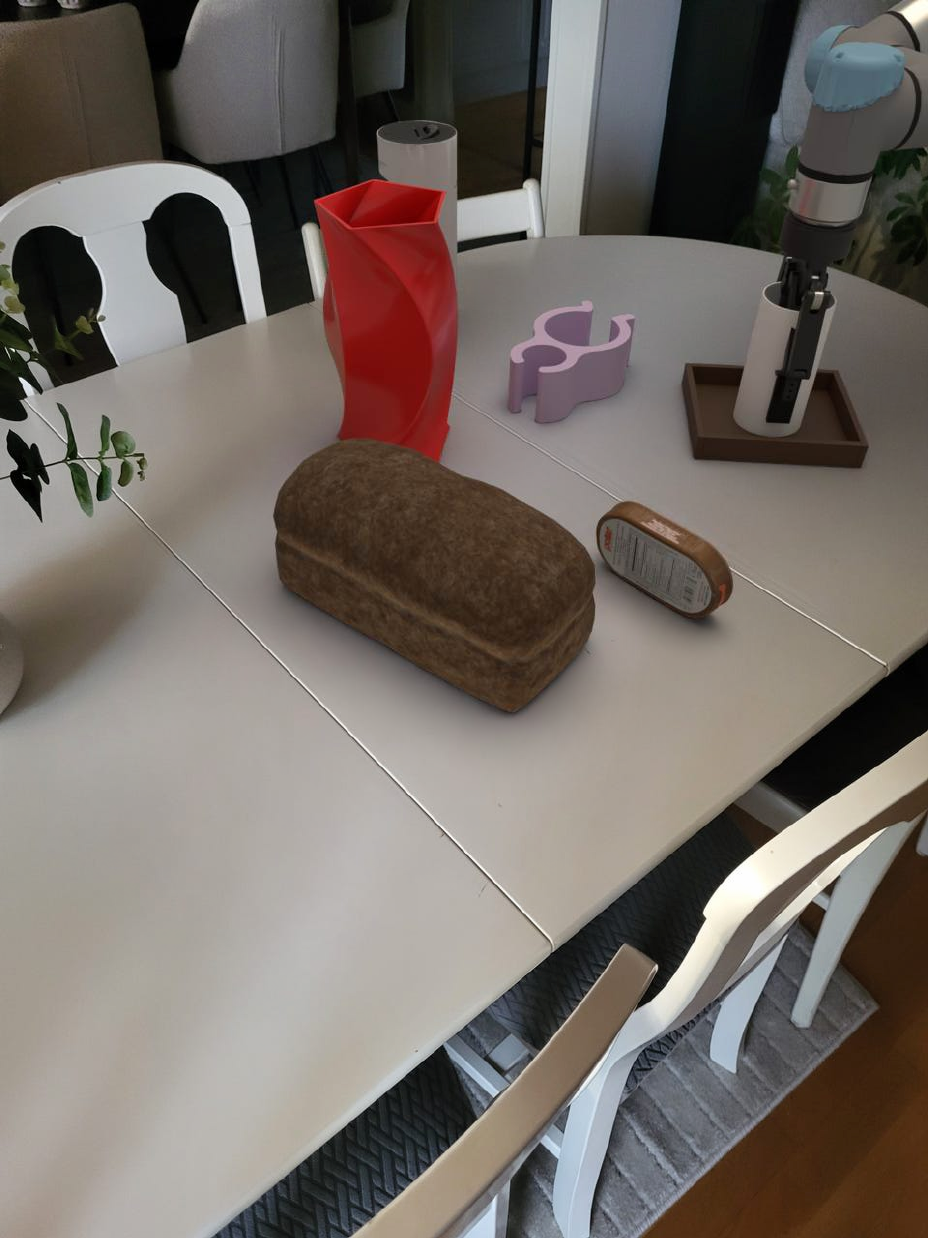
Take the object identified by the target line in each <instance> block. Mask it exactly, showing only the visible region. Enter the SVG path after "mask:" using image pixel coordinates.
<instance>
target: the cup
mask: <svg viewBox="0 0 928 1238" xmlns="http://www.w3.org/2000/svg"><path fill="white" fill-rule="evenodd" d="M780 284H781V282H777V281H776V282H773V283H770V284H768V285H766V286H765V287H764V288H763V289H762V292H761V295H760V300H759V304H758V307H757V313H756V317H755V319H754V325H753V330H752V334H751V338H750V341H749V346H748V350H747V355H746V358H745V363H744V366H745V367H744V371H743V375H742V379H741V383H740V388H739V392H738V396H737V400H736V404H735V409H734V413H733V417H734V420H735V422H736V423H737V424H738V425H739V426H740V427H742V428H743V429H745V430H746V431H748V432H751V433H754V434H757V435H760V436H766V437H784V436H788V435H791V434H793V433H795V432H796V431H798V429H799V428H800V425H801V422H802V419H803V415H804V412H805V409H806V405H807V402H808V399H809V395H810V392H811V388H812V385H813V382H814V378H815V375H816V372H817V369H818V368H819V364H820V362H821V358H822V355H823V351H824V348H825V345H826V342H827V339H828V334H829V331H830V328H831V325H832V321H833V317H834V314H835V311H836V309H837V308H836V307H837V303H838V302H837V301H838V300H837V298H836V295H835V294H834V293H832V292H831V299H830V301H829V304H828V307H827V310H826V312H825V316H824V320H823V325H822V329H821V333H820V337H819V342H818V346H817V350H816V355H815V359H814V363H813V367H812V372H811V377H810V379H809V380H802V382H801V385H800V389H799V392H798V396H797V399H796V403H795V406H794V410H793V413H792V417H791V420H790V423H789V424H782V423H766V416H767V412H768V408H769V404H770V401H771V397H772V393H773V389H774V386H775V382H776V378H777V376H776V375H775V370H782V367H783V360H784V354H785V349H786V345H787V341H788V337H789V334H790V330H791V327H793V328H794V329H796V325H797V320H798V316H799V311H793V310H789V309H785V308H782V307H780V306H778V304H779V300H780V296H781V288H780ZM824 291H829V290H828V289H826V288H825V290H824Z"/></svg>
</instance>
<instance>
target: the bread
mask: <svg viewBox="0 0 928 1238" xmlns="http://www.w3.org/2000/svg"><path fill="white" fill-rule="evenodd" d="M272 518H273V522H274V526H275V529H276V535H275V541H274V548H275V558H276V566H277V573H278V578H279V581H280V582H281V584H282V585H283V587H285V588H286V589H288V590H291V591H292V592H293V593H295V594H297V595H298V596H300V597H302V598H303V599H305V600H306V601H308V602H310V603H312V604H313V605H314V606H316V607H318V608H319V609H321V610H323V611H324V612H326V613H328V614H329V615H330V616H333V617H334V618H336V619H337V620H340V621H341V622H343V623H344V624H346V625H348V626H350V627H352V628H353V629H355V630H358V631H359V632H361V633H363V634H365V635H366V636H367V637H370V638H371V639H374V640H375V641H377V642H379V643H381V644H382V645H385V646H387V647H388V648H390V649H391V650H393V651H394V652H397V654H399V655H401V656H402V657H404V658H406V659H407V660H408V661H410V662H412V663H413V664H415V665H416V666H418V667H420V668H422V669H424V670H425V671H427V672H429V673H431V674H433V675H436V677H439V678H441V679H442V680H444V681H446V682H448V683H449V684H451V685H452V686H454V687H457V688H459V689H460V690H462V691H464V692H466V693H467V694H470V695H472V696H473V697H475V698H477V699H479V700H481V701H483V702H485V703H487V704H489V705H491V706H493V707H495V708H497V709H500V710H502V711H506V712H509V713H512V714H514V713H515V712H517V711H518V710H520V709H521V708H523V707H524V706H526V704H528V703H529V702H530V701H531V700H533V699H534V698H535V697H536V696H538V694H539V693H541V692H542V690H544V688H546V687H547V686H548V685H549V684H550V683H551V682H552V681H553V680H554V679H555V678H556V677H557V676H558V675H559V674H560V673H561V672H562V671H563V670H564V669H565V668H566V667H567V666H568V665H569V664H570V663H571V662H572V661H573V659H575V657H576V656H577V655H578V654H579V652H580V651H581V650H582V648H583V647H584V646H585V644H587V642H588V641H589V638H590V636H591V634H592V632H593V628H594V624H595V619H596V602H595V596H594V589H595V588H596V583H597V581H596V579H597V577H596V564H595V562H594V560H593V559H592V557H591V555H590V553H589V552H588V550H587V548H586V546H585V545H584V544H583V543H581V542H580V541H579V540H578V539H577V537H575V535H574V534H573V533H572V532H570V531H569V530H568V529H566V527H564V526H563V525H561V524H560V523H559V522H558V521H556V520H555V519H553V518H552V517H550V516H548V515H546V514H545V513H544V512H542V511H540V510H538V509H537V508H535V507H533V506H531V505H529V503H526V502H524V501H523V500H520V499H519V498H517V497H516V496H514V495H512V494H510V493H509V492H508V491H506V490H504V489H502V488H500V487H498V486H495V485H493V484H490V483H488V482H485V481H484V480H483V481H482V480H480V479H476V478H472V477H468V476H465V475H462V474H461V473H459V472H456V471H455V470H452V469H450V468H448V467H447V466H445V465H443V464H442V463H440V462H439V463H438V462H436V461H434V460H432V459H431V458H429V457H427V456H425V455H423V454H421V453H420V452H418V451H416V450H413V449H410V448H407V447H403V446H400V445H396V444H391V443H386V442H381V441H377V440H373V439H369V438H351V439H347V440H343V441H340V440H339V441H336V442H334V443H331V444H330V445H327V446H326V447H324V448H322V449H320V450H318V451H316V452H314V453H312V454H310V455H309V456H308V457H306V458H305V459H304V460H302V461H301V463H300V464H299V465H298V466H296V468H295V469H294V470H293V472H292V473H291V474H290V475H289V476H288V477H287V479H286V480H285V481H284V483H283V484H282V486H281V487H280V489H279V491H278V493H277V498H276V500H275V504H274V508H273V514H272Z"/></svg>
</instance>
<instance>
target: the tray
mask: <svg viewBox="0 0 928 1238" xmlns="http://www.w3.org/2000/svg"><path fill="white" fill-rule="evenodd" d="M744 367H745V365H738V364H722V363H721V364H718V363H701V362H699V363H698V362H697V363H696V362H685V365H684V369H683V373H682V380H681V389H682V394H683V396H682V397H683V401H684V407H685V408H684V409H685V413H686V419H687V425H688V431H689V437H690V445H691V450H692V457H693V459H694V460H708V461H709V460H710V461H726V462H728V461H729V462H743V463H744V462H746V463H747V462H748V463H762V464H763V463H764V464H782V465H784V464H785V465H800V466H817V467H818V466H819V467H834V468H835V467H837V468H838V467H839V468H855V469H862V467H863V464H864V460H865V458H866V456H867V453H868V450H869V447H870V445H869V443H868V440H867V437H866V435H865V433H864V429H863V427H862V425H861V423H860V420H859V418H858V415H857V413H856V410H855V408H854V406H853V403H852V401H851V398H850V395H849V393H848V390H847V388H846V385H845V383H844V381H843V378H842V376H841V374H840V371H839V370H837V369H820V368H819V369H818V368H817V372H816V375H815V378H814V382H813V385H812V388H811V392H810V395H809V399H808V402H807V405H806V409H805V412H804V415H803V419H802V422H801V425H800V428H799V429H798V431H796V432H795V433H793V434H791V435H788V436H784V437H766V436H760V435H757V434H754V433H751V432H748V431H746V430H745V429H743V428H742V427H740V426H739V425H738V424H737V423H736V422H735V420H734V417H733V413H734V409H735V404H736V400H737V396H738V392H739V388H740V383H741V379H742V375H743V371H744Z"/></svg>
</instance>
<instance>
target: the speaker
mask: <svg viewBox="0 0 928 1238" xmlns="http://www.w3.org/2000/svg"><path fill="white" fill-rule="evenodd" d="M376 141H377V160H378V162H377V163H378V180H383V181H389V182H394V183H400V184H406V185H412V186H418V187H423V188H430V189H436V190H442V191H446V194H445V197H444V200H443V203H442V206H441V209H440V214H439V223H440V227H441V230H442V233H443V235H444V238H445V240H446V243H447V246H448V249H449V253H450V256H451V261H452V265H453V270H454V276H455V283H456V292H457V307H459V304H458V303H459V299H458V296H459V295H458V294H459V293H458V292H459V291H458V290H459V289H458V131H457V129H456V128H455V127H454V126H452V125H450V124H447V123H443V122H437V121H434V120H424V119H423V120H422V119H421V120H402V121H396V122H391V123H388V124H385V125H383V126H381V127H380V128H379V129H377V131H376Z"/></svg>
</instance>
